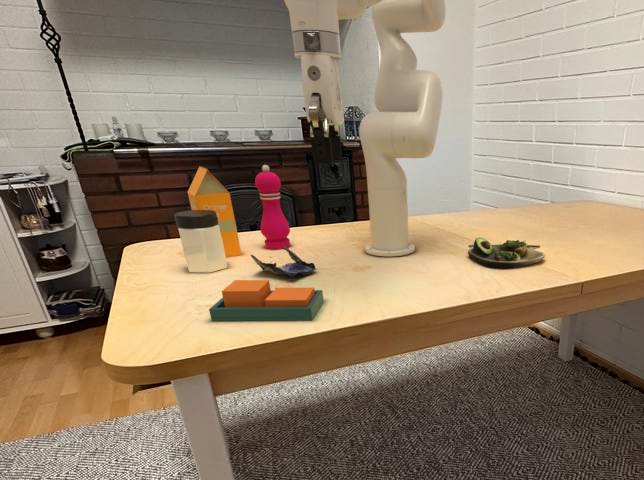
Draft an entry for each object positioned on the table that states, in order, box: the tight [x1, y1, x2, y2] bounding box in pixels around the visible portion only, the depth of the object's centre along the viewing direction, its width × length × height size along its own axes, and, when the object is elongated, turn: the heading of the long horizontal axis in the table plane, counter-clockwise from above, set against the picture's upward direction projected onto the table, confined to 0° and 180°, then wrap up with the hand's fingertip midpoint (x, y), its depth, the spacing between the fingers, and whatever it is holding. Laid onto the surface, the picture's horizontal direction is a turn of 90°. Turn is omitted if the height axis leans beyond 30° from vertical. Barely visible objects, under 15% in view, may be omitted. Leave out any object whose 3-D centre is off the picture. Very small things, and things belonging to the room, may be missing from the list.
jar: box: [173, 209, 228, 274], centre depth 103 cm, size 9×8×12 cm
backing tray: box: [208, 289, 325, 322], centre depth 82 cm, size 10×17×2 cm, turn 92°
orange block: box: [221, 279, 271, 308], centre depth 81 cm, size 6×6×4 cm
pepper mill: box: [254, 164, 291, 250], centre depth 119 cm, size 7×7×20 cm
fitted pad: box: [265, 286, 316, 307], centre depth 81 cm, size 7×7×2 cm
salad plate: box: [467, 236, 546, 269], centre depth 114 cm, size 19×18×5 cm
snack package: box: [250, 246, 317, 282], centre depth 100 cm, size 12×6×12 cm
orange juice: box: [187, 165, 242, 258], centre depth 112 cm, size 8×9×20 cm
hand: (328, 161), depth 84 cm, fingers open, 9 cm apart
